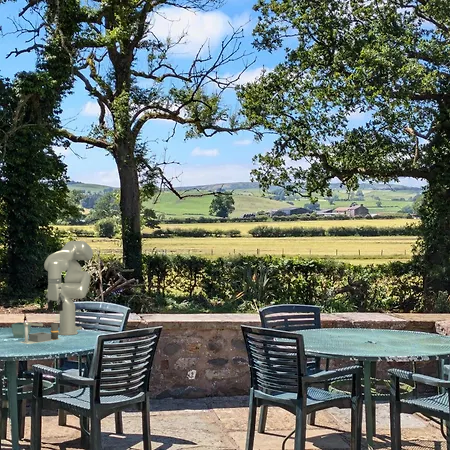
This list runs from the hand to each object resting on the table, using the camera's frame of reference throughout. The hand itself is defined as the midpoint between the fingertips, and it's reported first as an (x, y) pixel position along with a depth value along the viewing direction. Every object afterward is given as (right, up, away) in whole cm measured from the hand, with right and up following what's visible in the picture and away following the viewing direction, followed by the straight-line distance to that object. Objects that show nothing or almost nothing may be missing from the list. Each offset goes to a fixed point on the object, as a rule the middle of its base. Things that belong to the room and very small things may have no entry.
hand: (55, 310), depth 414 cm
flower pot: (-21, -18, +5) cm, 28 cm away
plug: (0, -17, -1) cm, 17 cm away
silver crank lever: (-8, -7, -17) cm, 20 cm away
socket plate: (-9, -17, -10) cm, 22 cm away
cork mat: (0, -18, -1) cm, 18 cm away
